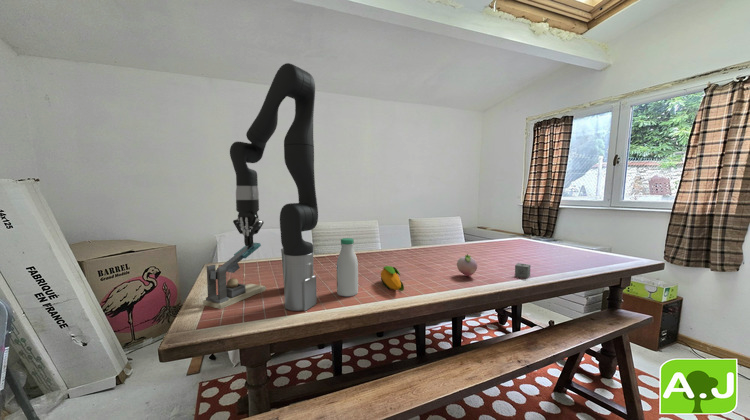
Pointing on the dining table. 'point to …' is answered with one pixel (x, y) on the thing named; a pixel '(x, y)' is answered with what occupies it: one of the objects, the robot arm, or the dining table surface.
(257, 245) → the lever
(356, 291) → the milk bottle
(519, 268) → the grey cube
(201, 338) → the dining table surface
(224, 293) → the cracker base
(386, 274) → the corn
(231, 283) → the nut
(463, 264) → the decorative fruit
